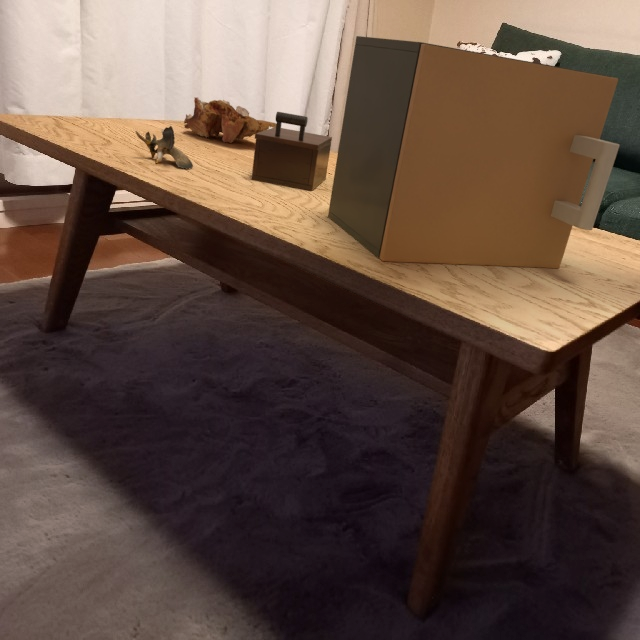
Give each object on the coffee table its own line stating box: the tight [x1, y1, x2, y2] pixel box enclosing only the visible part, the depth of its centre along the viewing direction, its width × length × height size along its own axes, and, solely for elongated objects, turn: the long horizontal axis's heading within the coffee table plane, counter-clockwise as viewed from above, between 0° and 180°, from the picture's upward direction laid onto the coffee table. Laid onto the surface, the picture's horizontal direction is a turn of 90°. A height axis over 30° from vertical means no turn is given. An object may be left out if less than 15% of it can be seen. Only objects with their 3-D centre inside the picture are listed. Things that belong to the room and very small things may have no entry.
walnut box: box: [251, 139, 332, 192], centre depth 112 cm, size 13×11×7 cm
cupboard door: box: [379, 44, 621, 269], centre depth 73 cm, size 7×26×24 cm, turn 109°
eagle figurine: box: [135, 125, 194, 169], centre depth 109 cm, size 8×7×9 cm
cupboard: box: [327, 35, 612, 259], centre depth 84 cm, size 18×26×24 cm
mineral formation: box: [183, 97, 277, 144], centre depth 140 cm, size 23×16×10 cm
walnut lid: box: [254, 111, 333, 150], centre depth 109 cm, size 13×11×5 cm
